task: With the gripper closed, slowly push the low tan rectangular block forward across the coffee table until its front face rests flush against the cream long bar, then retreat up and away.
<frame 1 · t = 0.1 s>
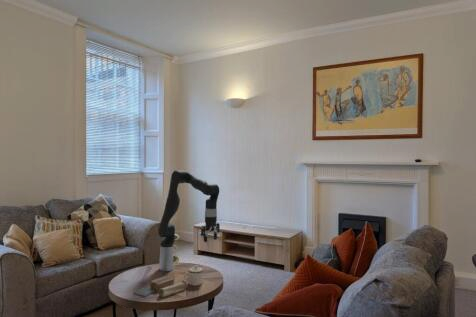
hand: (210, 240, 213), 29 cm above the table, fingers open, 8 cm apart
cream long bar: (173, 292, 203), on the table
slate coaster: (144, 292, 202), on the table
teacup with lid: (193, 283, 218), on the table
tan rectangular block: (162, 287, 210), on the table
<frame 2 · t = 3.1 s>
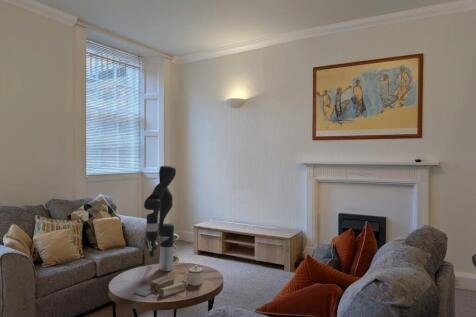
hand: (151, 256, 218), 17 cm above the table, fingers closed
nothing on the table moved.
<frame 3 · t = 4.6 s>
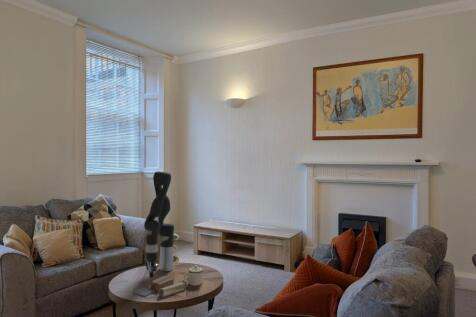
hand: (151, 277, 218), 4 cm above the table, fingers closed
nothing on the table moved.
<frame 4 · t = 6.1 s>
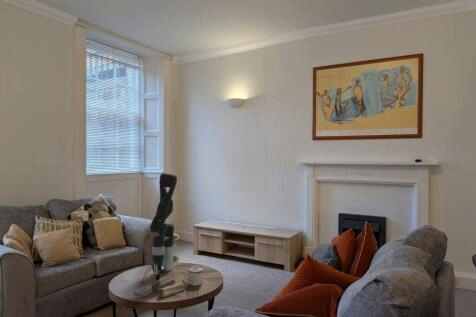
hand: (157, 280, 213), 4 cm above the table, fingers closed
tan rectangular block: (163, 288, 209), on the table
everything else where it was.
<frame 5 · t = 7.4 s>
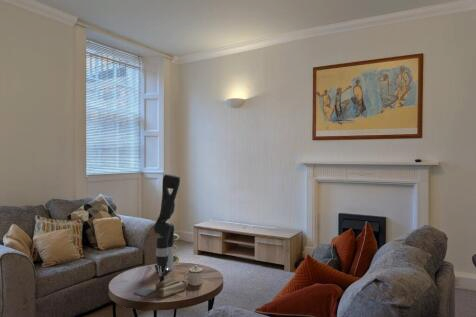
hand: (161, 281, 210), 4 cm above the table, fingers closed
tan rectangular block: (167, 290, 207), on the table
everything else where it was.
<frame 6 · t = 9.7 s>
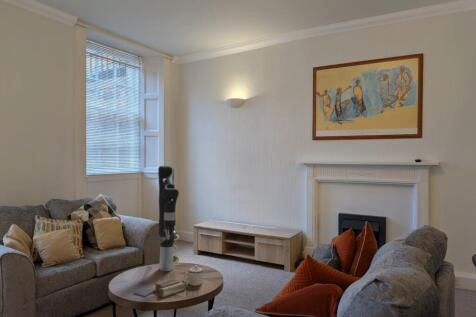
hand: (169, 245, 219), 24 cm above the table, fingers closed
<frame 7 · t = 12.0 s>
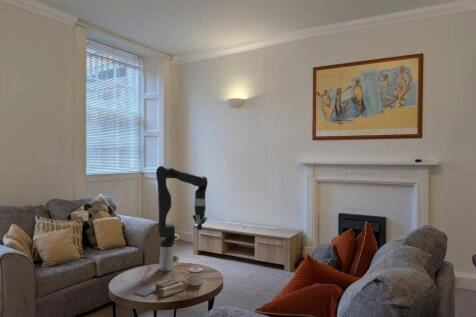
hand: (199, 229, 232), 32 cm above the table, fingers closed
nothing on the table moved.
at the end: tan rectangular block inside the target area on the table beside the cream long bar (0.4 cm from its centre), on the table; tan rectangular block tilted 0° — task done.
